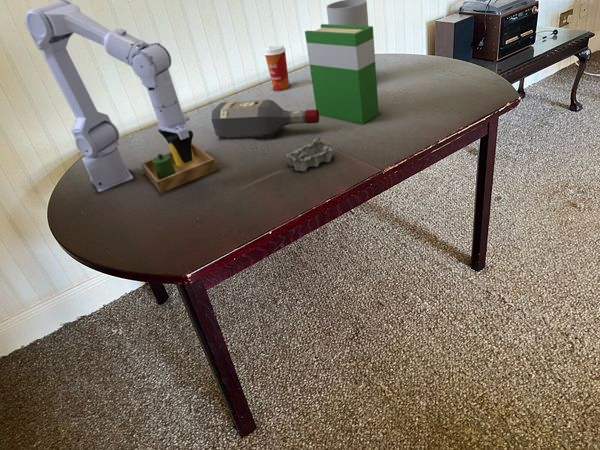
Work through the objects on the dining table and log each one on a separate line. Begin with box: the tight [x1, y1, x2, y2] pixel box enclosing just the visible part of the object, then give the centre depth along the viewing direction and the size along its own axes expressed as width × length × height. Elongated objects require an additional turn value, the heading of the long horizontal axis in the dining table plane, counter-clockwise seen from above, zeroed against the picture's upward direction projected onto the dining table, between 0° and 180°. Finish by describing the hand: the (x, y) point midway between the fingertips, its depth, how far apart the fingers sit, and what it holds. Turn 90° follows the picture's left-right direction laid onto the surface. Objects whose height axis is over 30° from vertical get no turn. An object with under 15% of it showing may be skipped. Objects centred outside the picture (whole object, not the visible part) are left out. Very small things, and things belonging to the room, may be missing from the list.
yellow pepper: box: [168, 142, 195, 166], centre depth 109 cm, size 5×5×6 cm
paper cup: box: [263, 44, 290, 92], centre depth 162 cm, size 8×8×14 cm
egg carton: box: [285, 137, 334, 173], centre depth 115 cm, size 11×8×4 cm
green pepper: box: [152, 153, 176, 180], centre depth 119 cm, size 5×5×6 cm
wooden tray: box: [140, 142, 218, 194], centre depth 122 cm, size 15×14×4 cm
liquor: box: [210, 99, 320, 139], centre depth 132 cm, size 9×9×30 cm
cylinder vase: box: [326, 0, 369, 26], centre depth 152 cm, size 12×12×25 cm
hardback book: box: [304, 23, 380, 125], centre depth 131 cm, size 18×7×24 cm, turn 45°
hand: (184, 158), depth 110 cm, fingers closed on yellow pepper, 4 cm apart
